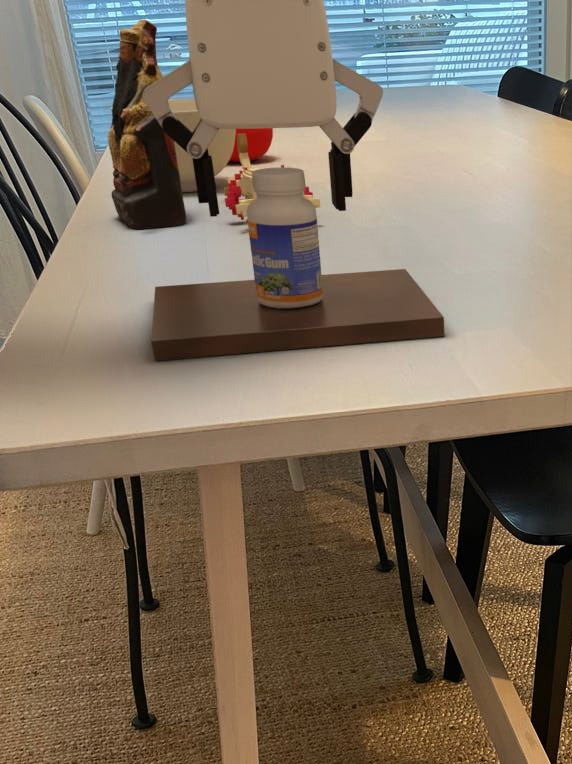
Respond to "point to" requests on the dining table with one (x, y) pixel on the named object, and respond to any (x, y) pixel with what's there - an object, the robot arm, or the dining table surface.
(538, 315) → the dining table surface
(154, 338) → the board
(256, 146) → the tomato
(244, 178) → the axolotl toy
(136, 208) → the statue
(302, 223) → the pill bottle
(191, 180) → the bowl
